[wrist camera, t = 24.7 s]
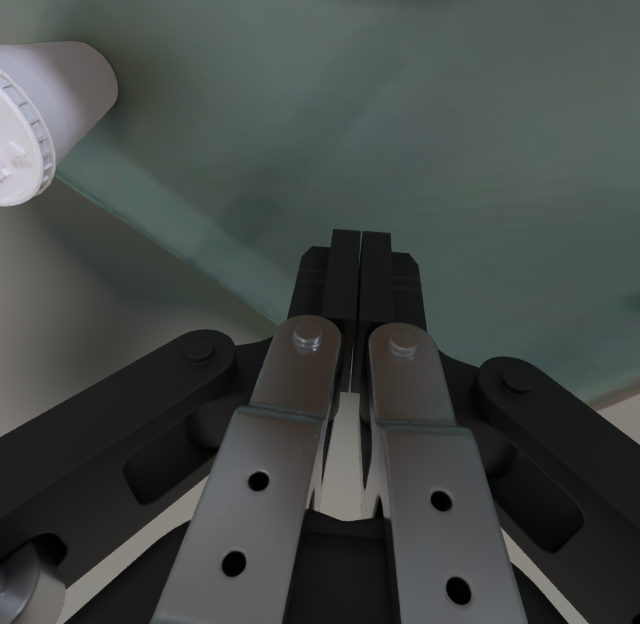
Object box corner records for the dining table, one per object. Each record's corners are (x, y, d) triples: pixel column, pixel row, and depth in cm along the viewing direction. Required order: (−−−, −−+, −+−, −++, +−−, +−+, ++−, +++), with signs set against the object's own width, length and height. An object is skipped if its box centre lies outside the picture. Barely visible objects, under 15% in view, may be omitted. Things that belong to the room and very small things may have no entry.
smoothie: (78, -17, 22) (-210, 22, 11) (164, 103, 25) (7, 221, 14) (4, 52, 24) (-287, 138, 14) (92, 153, 28) (-87, 284, 17)
